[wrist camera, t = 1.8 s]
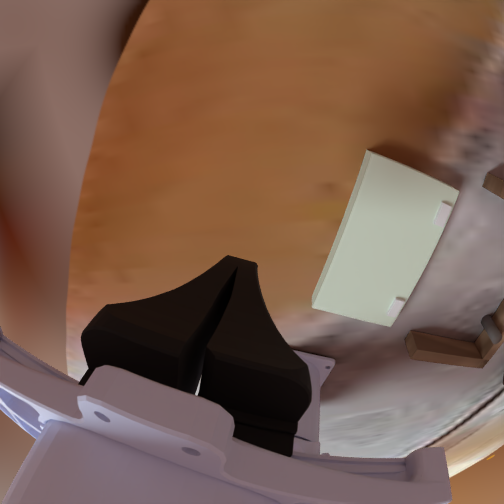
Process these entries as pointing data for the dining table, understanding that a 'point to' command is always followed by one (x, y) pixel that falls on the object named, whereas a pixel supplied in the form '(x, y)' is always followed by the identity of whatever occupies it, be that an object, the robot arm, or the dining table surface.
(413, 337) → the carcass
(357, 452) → the dining table surface
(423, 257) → the door
